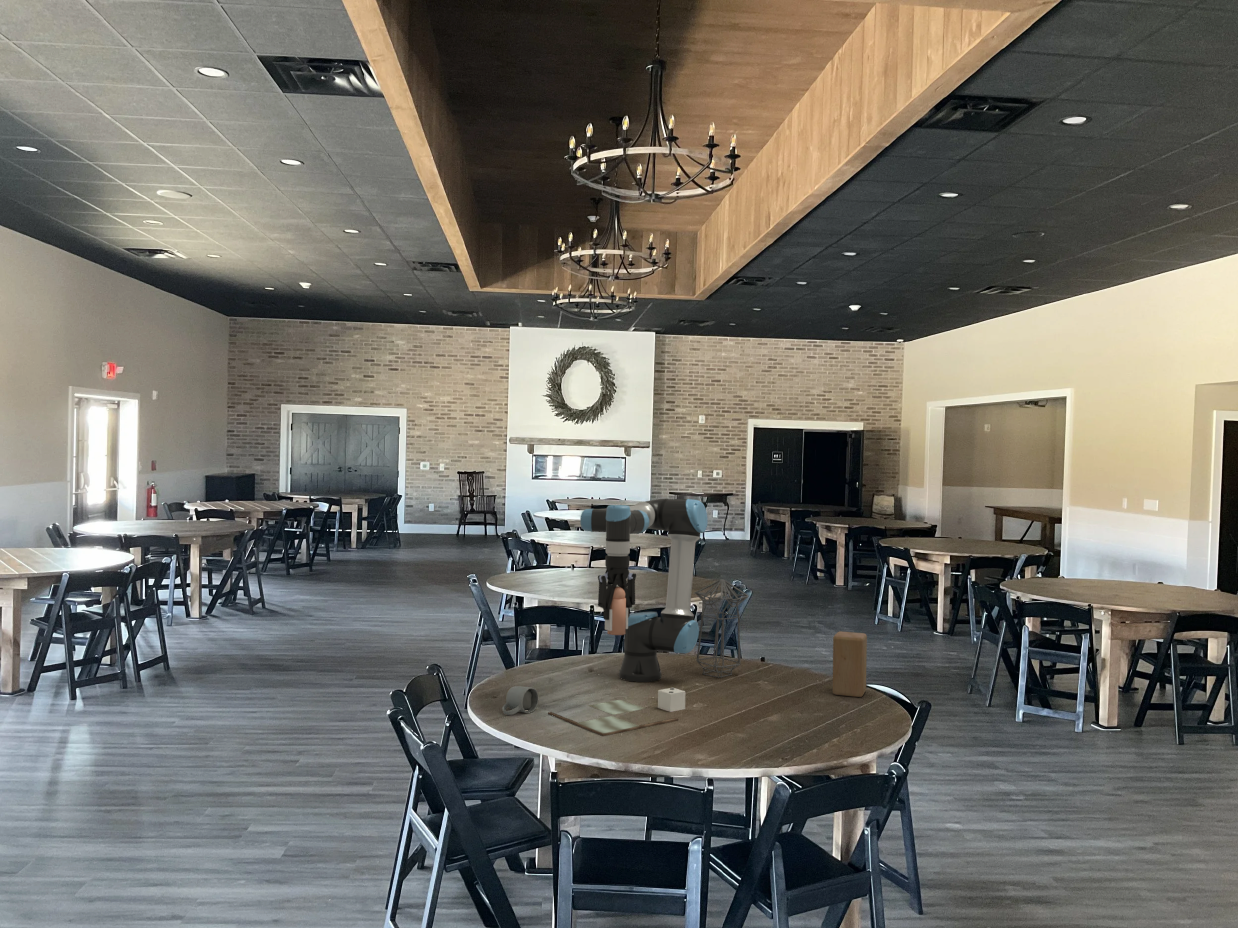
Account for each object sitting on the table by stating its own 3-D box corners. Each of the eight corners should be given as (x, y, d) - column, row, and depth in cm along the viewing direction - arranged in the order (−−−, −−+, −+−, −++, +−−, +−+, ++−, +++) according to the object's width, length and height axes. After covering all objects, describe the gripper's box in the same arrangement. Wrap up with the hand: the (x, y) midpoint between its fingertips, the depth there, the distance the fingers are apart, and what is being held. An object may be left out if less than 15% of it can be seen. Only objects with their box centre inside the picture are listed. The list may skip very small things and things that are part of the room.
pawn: (617, 631, 293) (618, 584, 293) (629, 633, 288) (629, 586, 288) (603, 632, 289) (604, 586, 289) (614, 635, 285) (615, 588, 285)
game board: (620, 700, 299) (620, 698, 299) (678, 720, 277) (678, 718, 277) (548, 713, 282) (548, 711, 282) (603, 735, 260) (603, 733, 260)
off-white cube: (672, 706, 293) (672, 687, 293) (685, 710, 288) (685, 690, 288) (657, 709, 289) (658, 689, 289) (670, 713, 284) (670, 693, 284)
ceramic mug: (519, 705, 291) (519, 681, 291) (539, 710, 286) (539, 685, 286) (495, 713, 282) (495, 688, 282) (515, 718, 277) (515, 692, 277)
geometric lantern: (715, 668, 350) (719, 575, 350) (748, 676, 338) (752, 580, 338) (687, 673, 339) (691, 577, 339) (719, 682, 328) (723, 583, 328)
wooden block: (831, 694, 311) (832, 635, 311) (836, 688, 320) (837, 630, 320) (862, 698, 307) (863, 637, 307) (866, 691, 316) (867, 632, 316)
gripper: (633, 552, 298) (632, 624, 298) (586, 554, 286) (585, 630, 286) (648, 554, 292) (647, 628, 292) (600, 557, 280) (599, 633, 280)
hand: (616, 628), depth 289 cm, fingers closed on pawn, 5 cm apart
